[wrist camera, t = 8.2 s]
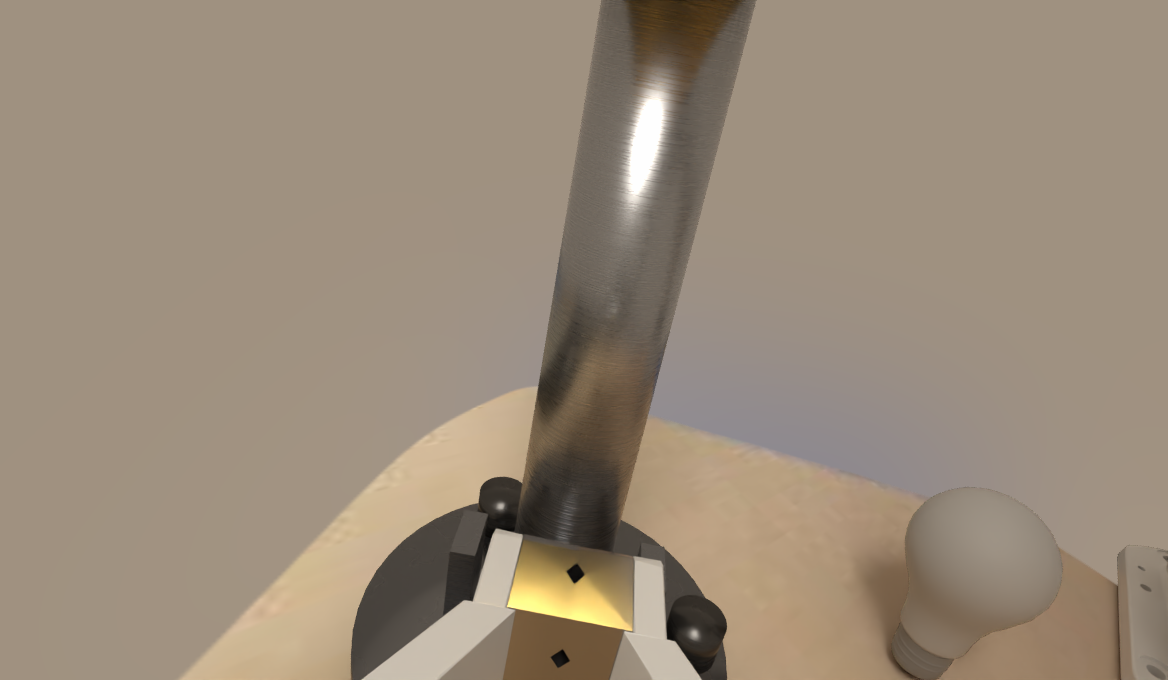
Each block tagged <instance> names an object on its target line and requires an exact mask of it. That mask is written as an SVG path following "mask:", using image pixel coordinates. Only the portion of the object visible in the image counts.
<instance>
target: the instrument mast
mask: <svg viewBox="0 0 1168 680" xmlns="http://www.w3.org/2000/svg"><path fill="white" fill-rule="evenodd" d="M755 3H756V0H601V6H600V12H599V18H598V24H597V30H596V36H595V42H594V48H593V55H592V61H591V67H590V73H589V79H588V86H587V91H586V98H585V103H584V110H583V116H582V122H581V128H580V134H579V140H578V147H577V153H576V159H575V165H574V171H573V177H572V183H571V189H570V196H569V202H568V208H567V214H566V220H565V226H564V232H563V238H562V245H561V251H560V257H559V263H558V270H557V275H556V281H555V287H554V293H553V300H552V306H551V312H550V318H549V324H548V330H547V337H546V343H545V349H544V355H543V362H542V367H541V373H540V379H539V385H538V392H537V398H536V404H535V410H534V416H533V422H532V428H531V434H530V441H529V447H528V453H527V459H526V465H525V471H524V477H523V483H522V490H521V496H520V502H519V508H518V514H517V520H516V526H515V533H518V534H522V535H523V537H524V534H526V535H530V536H535V537H539V538H544V539H548V540H553V541H557V542H562V543H566V544H571V545H575V546H582V547H587V548H592V549H598V550H603V551H608V552H612V551H613V547H614V543H615V539H616V536H617V532H618V528H619V524H620V520H621V516H622V513H623V509H624V505H625V501H626V497H627V493H628V490H629V486H630V482H631V478H632V474H633V470H634V467H635V463H636V459H637V455H638V451H639V447H640V444H641V440H642V436H643V432H644V428H645V425H646V421H647V417H648V413H649V409H650V405H651V402H652V397H653V394H654V390H655V386H656V382H657V379H658V374H659V371H660V367H661V363H662V359H663V355H664V351H665V347H666V344H667V340H668V336H669V333H670V329H671V325H672V321H673V317H674V313H675V310H676V306H677V302H678V298H679V294H680V291H681V287H682V283H683V279H684V275H685V271H686V268H687V264H688V260H689V256H690V252H691V248H692V245H693V241H694V237H695V233H696V229H697V225H698V222H699V218H700V214H701V210H702V206H703V202H704V199H705V195H706V191H707V187H708V183H709V179H710V175H711V172H712V168H713V164H714V160H715V157H716V152H717V149H718V145H719V141H720V137H721V133H722V130H723V126H724V122H725V118H726V114H727V111H728V106H729V103H730V99H731V95H732V91H733V88H734V84H735V80H736V76H737V72H738V68H739V64H740V61H741V57H742V53H743V49H744V45H745V42H746V38H747V34H748V30H749V26H750V23H751V19H752V15H753V11H754V7H755Z"/></svg>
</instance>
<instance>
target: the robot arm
mask: <svg viewBox="0 0 1168 680" xmlns="http://www.w3.org/2000/svg"><path fill="white" fill-rule="evenodd" d="M1117 562H1118V565H1117V566H1118V598H1119V631H1120V664H1121V680H1168V551H1166V550H1162V549H1158V548H1152V547H1146V546H1136V545H1128V546H1126V547H1125V548H1124V549H1123V550H1122V551H1121V552H1120V553H1119V554H1118V557H1117ZM362 680H702V679H701V678H700V676H699V675H698V673H697V672H696V670H695V669H694V668H693V666H692V665H691V663H690V662H689V660H688V659H687V657H686V656H685V655H684V653H683V652H682V650H681V649H680V647H679V646H678V645H677V643H676V642H675V641H671V640H667V633H666V613H665V592H664V571H663V564H662V562H661V561H658V560H653V559H647V558H642V557H636V556H633V557H632V556H630V555H624V554H619V553H614V552H608V551H603V550H598V549H592V548H587V547H582V546H575V545H571V544H566V543H562V542H557V541H553V540H548V539H544V538H539V537H535V536H530V535H526V534H524V537H523V535H522V534H518V533H514V532H509V531H505V530H501V529H496V530H495V531H494V533H493V535H492V539H491V542H490V545H489V549H488V552H487V555H486V559H485V562H484V565H483V569H482V572H481V575H480V579H479V582H478V585H477V589H476V592H475V595H474V599H473V601H467V600H464V601H462V602H461V603H460V604H458V605H457V606H456V607H454V608H453V609H452V610H451V611H449V612H448V613H447V614H445V615H444V616H443V617H442V618H440V619H439V620H438V621H436V622H435V623H434V624H433V625H431V626H430V627H429V628H427V629H426V630H425V631H424V632H422V633H421V634H420V635H418V636H417V637H416V638H415V639H413V640H412V641H411V642H409V643H408V644H407V645H405V646H404V647H403V648H402V649H400V650H399V651H398V652H396V653H395V654H394V655H393V656H391V657H390V658H389V659H387V660H386V661H385V662H384V663H382V664H381V665H380V666H378V667H377V668H376V669H375V670H373V671H372V672H371V673H369V674H368V675H367V676H366V677H364V678H363V679H362Z"/></svg>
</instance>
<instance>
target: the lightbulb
mask: <svg viewBox="0 0 1168 680" xmlns="http://www.w3.org/2000/svg"><path fill="white" fill-rule="evenodd" d="M905 553H906V564H907V570H908V575H909V590H908V594H907V598H906V601H905V603H904V605H903V608H902V610H901V623H900V624H899V627H898V629H897V630H896V634H895V635H894V637H893V640H892V643H891V649H892V653H893V655H894V657H895V659H896V661H897V662H898V663H899V665H900V666H901V667H902V668H903V669H904V670H906V671H907V672H908V673H910V674H911V675H913V676H915V677H917V678H920V679H923V680H936V679H938V678H939V677H941V675H942V674H943V673H944V672H945V671H946V670H947V668H948V667H949V666H950V665H951V663H952V662H953V660H954V659H956V658H959V657H961V656H963V655H964V654H966V652H967V651H968V650H969V649H970V648H971V646H972V645H973V644H974V643H975V642H977V641H978V640H979V639H980V638H982V637H984V636H986V635H988V634H990V633H992V632H995V631H1000V630H1004V629H1008V628H1011V627H1014V626H1017V625H1020V624H1023V623H1026V622H1029V621H1032V620H1033V619H1034V618H1036V617H1037V616H1039V615H1040V614H1041V613H1043V612H1044V611H1045V610H1047V609H1048V608H1049V607H1050V605H1051V604H1052V602H1053V601H1054V600H1055V598H1056V596H1057V593H1058V591H1059V588H1060V585H1061V581H1062V560H1061V555H1060V551H1059V548H1058V546H1057V543H1056V541H1055V539H1054V537H1053V534H1052V533H1051V531H1050V530H1049V529H1048V527H1047V526H1046V525H1045V524H1044V522H1043V521H1042V520H1041V519H1040V518H1039V517H1038V515H1036V514H1035V513H1034V512H1033V511H1032V510H1031V509H1029V508H1028V507H1027V506H1025V505H1024V504H1022V503H1021V502H1019V501H1017V500H1015V499H1013V498H1012V497H1009V496H1007V495H1005V494H1002V493H1000V492H997V491H993V490H990V489H984V488H975V487H964V488H957V489H952V490H948V491H945V492H942V493H939V494H937V495H935V496H933V497H932V498H930V499H929V500H927V501H926V502H925V503H924V504H923V505H922V506H921V507H920V508H919V509H918V510H917V511H916V512H915V513H914V515H913V516H912V518H911V520H910V522H909V525H908V528H907V532H906V537H905Z"/></svg>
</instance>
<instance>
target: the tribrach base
mask: <svg viewBox="0 0 1168 680" xmlns="http://www.w3.org/2000/svg"><path fill="white" fill-rule="evenodd" d="M521 490H522V483H521V482H519V481H518V480H515V479H513V478H509V477H496V478H492V479H489V480H488V481H486V482H485V483H484V484H483V485H482V486H481V489H480V496H479V503H477V504H473V505H469V506H466V507H463V508H460V509H457V510H454V511H452V512H450V513H448V514H445V515H443V516H441V517H439V518H437V519H435V520H433V521H431V522H430V523H428V524H426V525H425V526H423V527H421V528H420V529H418V530H417V531H416V532H414V533H413V534H412V535H410V536H409V537H408V538H406V539H405V540H404V541H403V542H402V543H401V544H400V545H399V546H398V547H397V548H396V549H395V550H394V551H393V552H392V553H391V554H390V555H389V556H388V557H387V558H386V560H385V561H384V562H383V563H382V565H381V566H380V567H379V568H378V570H377V571H376V573H375V574H374V576H373V578H372V580H371V581H370V583H369V585H368V587H367V588H366V590H365V593H364V595H363V598H362V600H361V603H360V605H359V608H358V611H357V616H356V620H355V624H354V628H353V636H352V649H351V680H362V679H363V678H364V677H366V676H367V675H368V674H369V673H371V672H372V671H373V670H375V669H376V668H377V667H378V666H380V665H381V664H382V663H384V662H385V661H386V660H387V659H389V658H390V657H391V656H393V655H394V654H395V653H396V652H398V651H399V650H400V649H402V648H403V647H404V646H405V645H407V644H408V643H409V642H411V641H412V640H413V639H415V638H416V637H417V636H418V635H420V634H421V633H422V632H424V631H425V630H426V629H427V628H429V627H430V626H431V625H433V624H434V623H435V622H436V621H438V620H439V619H440V618H442V617H443V616H444V615H445V614H447V613H448V612H449V611H451V610H452V609H453V608H454V607H456V606H457V605H458V604H460V603H461V602H462V601H464V600H467V601H473V599H474V595H475V592H476V589H477V585H478V582H479V579H480V575H481V572H482V569H483V565H484V562H485V559H486V555H487V552H488V549H489V545H490V542H491V539H492V535H493V533H494V531H495V530H496V529H501V530H505V531H509V532H514V533H515V526H516V520H517V514H518V508H519V502H520V496H521ZM612 552H614V553H619V554H624V555H630V556H632V557H633V556H636V557H642V558H647V559H653V560H658V561H661V562H662V564H663V571H664V592H665V613H666V633H667V640H671V641H675V642H676V643H677V645H678V646H679V647H680V649H681V650H682V652H683V653H684V655H685V656H686V657H687V659H688V660H689V662H690V663H691V665H692V666H693V668H694V669H695V670H696V672H697V673H698V675H699V676H700V678H701V679H702V680H727V672H726V657H725V652H724V647H723V642H722V640H723V638H724V635H725V633H726V630H727V623H726V619H725V616H724V615H723V613H722V611H721V610H720V609H719V608H718V607H717V606H716V605H715V604H714V603H713V602H711V601H710V600H708V599H706V598H705V597H704V595H703V594H702V592H701V591H700V589H699V587H698V586H697V584H696V583H695V581H694V580H693V579H692V578H691V576H690V575H689V574H688V573H687V571H686V570H685V569H684V568H683V566H682V565H681V564H680V563H679V562H678V561H677V560H676V559H675V558H674V557H673V556H672V555H671V554H670V553H669V552H668V551H666V550H665V549H664V547H662V546H660V545H659V544H658V543H657V542H655V541H654V540H653V539H652V538H650V537H649V536H647V535H646V534H644V533H643V532H641V531H640V530H638V529H637V528H635V527H633V526H631V525H629V524H628V523H626V522H624V521H622V520H620V524H619V528H618V532H617V536H616V539H615V543H614V547H613V551H612Z"/></svg>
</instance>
